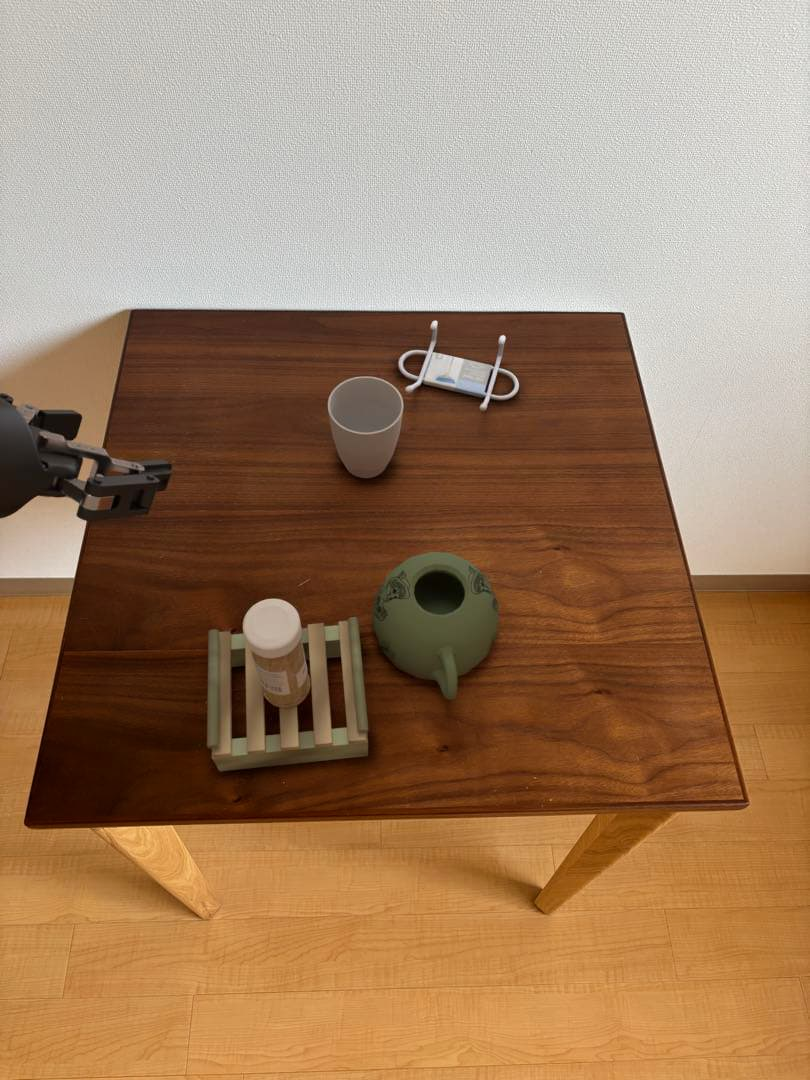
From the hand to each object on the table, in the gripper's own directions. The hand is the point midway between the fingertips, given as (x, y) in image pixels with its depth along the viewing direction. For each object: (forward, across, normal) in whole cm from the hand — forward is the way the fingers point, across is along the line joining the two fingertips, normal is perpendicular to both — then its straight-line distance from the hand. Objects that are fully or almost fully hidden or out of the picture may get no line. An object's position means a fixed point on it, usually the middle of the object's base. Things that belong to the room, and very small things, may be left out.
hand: (119, 449), depth 60 cm
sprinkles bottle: (+15, -14, +18) cm, 27 cm away
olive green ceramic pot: (+28, -23, +12) cm, 38 cm away
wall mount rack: (+50, -8, -9) cm, 52 cm away
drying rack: (+18, -14, +22) cm, 32 cm away
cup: (+39, -4, +1) cm, 40 cm away
